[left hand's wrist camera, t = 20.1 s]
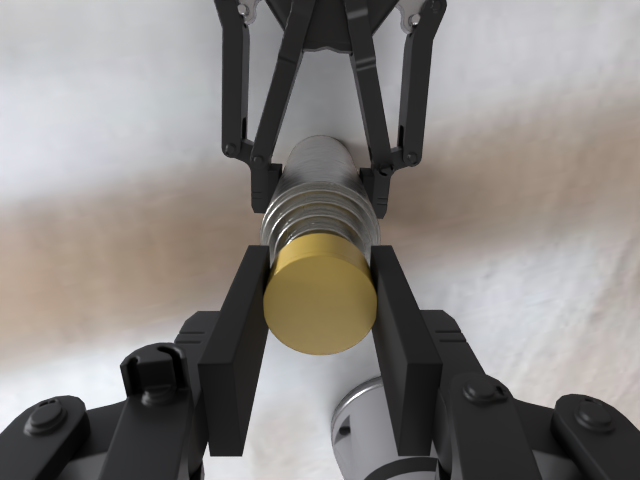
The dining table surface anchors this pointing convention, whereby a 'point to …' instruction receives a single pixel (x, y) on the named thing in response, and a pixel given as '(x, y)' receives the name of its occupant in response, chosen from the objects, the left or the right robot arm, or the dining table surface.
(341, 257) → the cap
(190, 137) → the dining table surface
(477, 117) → the dining table surface
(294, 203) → the bottle
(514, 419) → the left robot arm
